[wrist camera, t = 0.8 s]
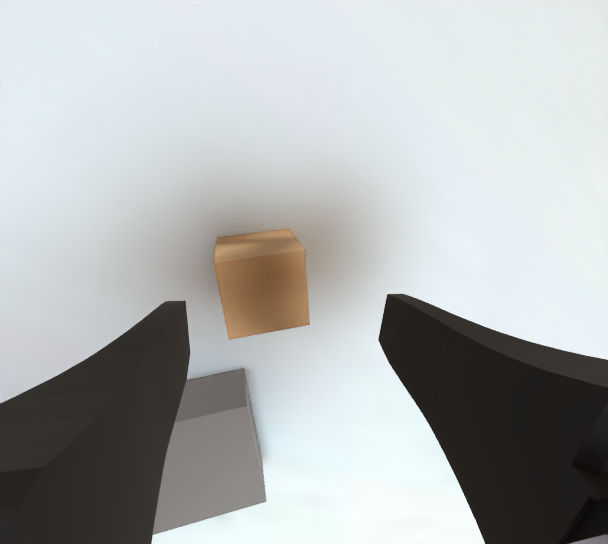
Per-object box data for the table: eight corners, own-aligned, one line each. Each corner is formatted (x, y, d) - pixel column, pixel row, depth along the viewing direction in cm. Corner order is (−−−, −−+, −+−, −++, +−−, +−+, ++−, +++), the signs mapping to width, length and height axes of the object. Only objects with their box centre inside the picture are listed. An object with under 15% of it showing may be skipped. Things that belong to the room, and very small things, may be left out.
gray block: (141, 485, 25) (126, 542, 22) (100, 395, 21) (74, 446, 18) (261, 454, 27) (266, 501, 23) (243, 365, 23) (246, 405, 19)
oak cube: (229, 301, 20) (229, 339, 16) (216, 237, 19) (214, 262, 15) (294, 290, 21) (309, 324, 17) (288, 228, 20) (304, 249, 15)
